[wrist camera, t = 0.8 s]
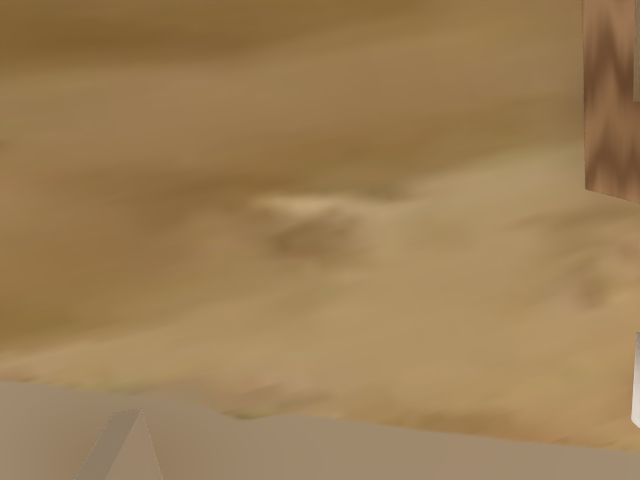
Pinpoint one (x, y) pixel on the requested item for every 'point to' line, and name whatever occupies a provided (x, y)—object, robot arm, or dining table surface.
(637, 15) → the lever cap
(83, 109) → the dining table surface
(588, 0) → the body
